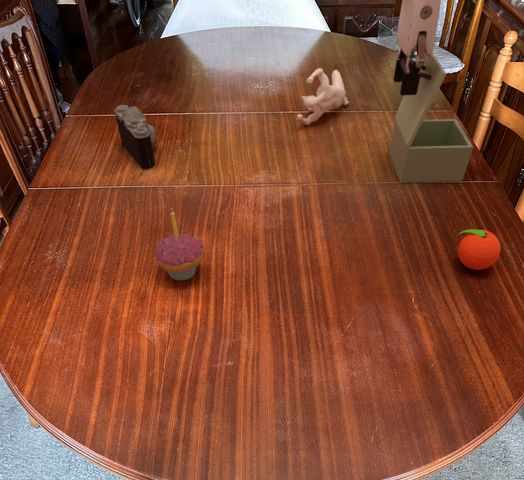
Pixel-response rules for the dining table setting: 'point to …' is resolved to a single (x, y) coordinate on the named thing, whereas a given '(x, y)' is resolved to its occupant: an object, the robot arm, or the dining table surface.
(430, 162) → the green hollow rectangular box
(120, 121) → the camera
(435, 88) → the lid
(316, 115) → the pale pink plastic figure
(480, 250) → the clementine
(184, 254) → the cupcake
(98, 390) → the dining table surface
